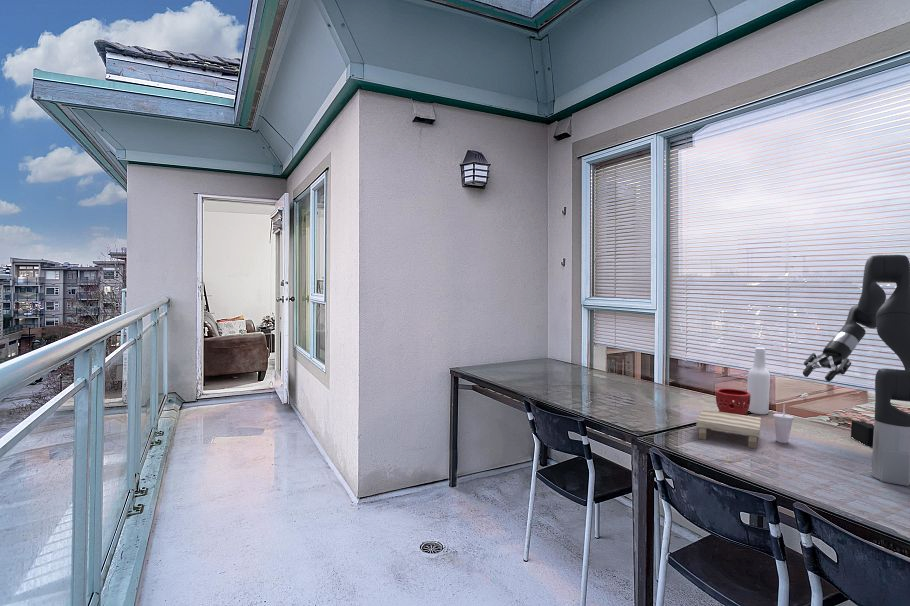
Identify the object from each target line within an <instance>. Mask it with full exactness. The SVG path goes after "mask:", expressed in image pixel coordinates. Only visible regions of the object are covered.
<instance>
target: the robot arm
mask: <svg viewBox="0 0 910 606" xmlns="http://www.w3.org/2000/svg"><path fill="white" fill-rule="evenodd" d="M863 270H864V271H863V278H862V287H861V288H862V290H861V293H860V297H859V299H858V303H857V304H855V305H853V306H851V307H850V309H849V311H848V313H847V314H848V315H847V318H846V320H845V323H844V325H843V326H842V327H841V328H840V330H839V331H838V332H837V333H836V334H835V335H834V336H833V337H832V339H830V341H828V343H827V344H826V345H825V347H824V348H823V350H822V353H821V354H820V355H818V354H816V353H815V352H813V353H810V356H809V357H808V358H806V360H804V362H803V364H804V366H805V368H804V370H803V371H802V375H803V376H804V377H806V378H808V377H809V376H810V375H811V374H812V373H813V371H814V370H816V369H821V368H828V369H830V370H829V371H828V373H827V374H826V375H825V376H824V379H825V381H826V382H831V381H833V379H834V378H835V377H836V376H838V375H845V374H846V373H847V371H848V369H849V368H850V367H851V366H852V362H851V360H850V359H849V356H850V355H851V354H852V353H853V352H854V350H855V349H856V348H857V346H858V344H859V343H860V342H861V340H862V339H863V338H864V337H865V335H866V329H865V328H868V329H876V332H877V335H878V337H879V338H880V340H881V341H882V342H883V343H884V344H885V345H886V346H888V348H889V349H890V350H892V351H893V353H894V354H895V355H896V356H897V357H898V358H899V360H900V361H901V363H902V365H903V368H904V369H894V368H884V367H882V368H879V369H878V370H877V371H876V372H875V377H874V378H875V379H874V392H875V393H874V395H875V397H874V399H875V401H874V420H873V421H874V423H873V425H874V436H873V447H872V452H871V453H872V456H871V457H872V458H871V459H872V460H871V472H870V473H871V474H870V475H871V476H872V477H873V478H875V479H876V480H879V481H880V482H884V483H890V484H894V485H900V486H906V487H909V486H910V413H909V412H906V411H905V410H901V409H900V408H897V407H895V406H894V405H893V404H891V400H892V401H900V402H907V403H908V402H909V403H910V259H909V257H908V256H907V255H905V254H875V255H870V256H869V257H868V258H867V259H866V262H865V265H864V269H863ZM878 283H895V284H896V287H895V288H894V290H893V292H892V293H891V295H890V296H889V297H888V298H887V294H886V292H885V290H884V289H883V288H882V287H881V286H880V285H879V284H878ZM864 327H865V328H864ZM818 363H819V364H818Z"/></svg>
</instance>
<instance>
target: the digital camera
mask: <svg viewBox="0 0 910 606" xmlns="http://www.w3.org/2000/svg"><path fill="white" fill-rule="evenodd" d="M850 423H851V428H850V438H851V437H853V438H854V439H856V440H858V441H860V442H861V443H860V442H859V443H860V444H862V443H863V444H862V445H864V444H865V445H864V446H866V445H867V446H866V447H868V446H872V447H871V448H873V436H874V423H868V422H866V421H861V420H851V422H850ZM854 439H853V440H854ZM856 440H855V441H856ZM858 441H857V442H858Z"/></svg>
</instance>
